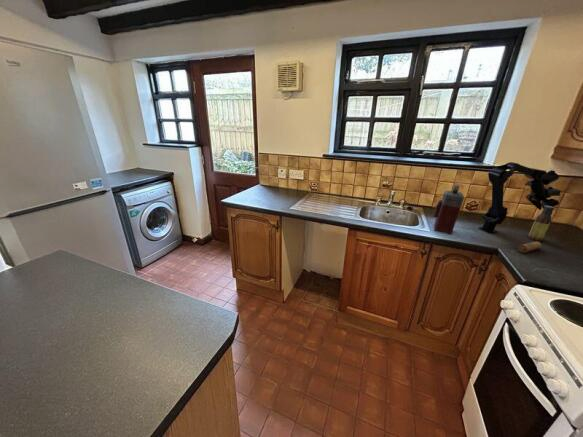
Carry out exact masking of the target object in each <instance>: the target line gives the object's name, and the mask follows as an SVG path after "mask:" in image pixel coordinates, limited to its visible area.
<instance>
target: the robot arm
mask: <svg viewBox="0 0 583 437" xmlns="http://www.w3.org/2000/svg"><path fill="white" fill-rule="evenodd" d="M515 172H516V173H520V174H522V175H524V177H526V178H527V179H531V180H527V182H526V183H525V184H524V185H525V186H528V187H530V188H529V189H530V191H529V193H528V194H526V195H525V198H526V200H527V201H528V202H529V203H531V204H532V205H533V206H534V207H535V208H536V209H538V211H542V210H543V209H544V206H545V205H546V206H552V207H554V208H555V207H557V206H558V205H560V201H559V200H557V199H555V198H552V197H561V193H562V190H561V189H559V188H555V187H553V186H550V184H552V183H554V182H556V181H558V180H559V179H560V176H559V174H558V173H556V170H553V169H550V170H549V171H547V170H543V169H539V168H535V167H528V166H525V165H522V164H520V163H518V162H513V161H511V162H510V161H509V162H507V163H505V164H501V165H498V166H496V167H494V168H492V169H490V170H489V171H488V173H487V176H488V177H487V178H488V181H489V182H490V184H491V206H489V208H488V211H486V212H485V213H484V214H482V216H481V218H482V219H483V220H484V222H483V225H482V226H481V227H479V228H478V229H479V230H482V231H484V232H486V233H489V234H492V233H497V230H496V227H497V225H501V224H503V222H505V219H506V218H507V215H508V210H509V209H508V207H505V206H504V186H505V183H506V182H507V181H508V180H509V178H511V177H512V176H513V175H514V173H515ZM548 185H549V186H548ZM552 215H553V213H552V214H551V216H552Z"/></svg>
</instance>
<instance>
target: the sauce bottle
mask: <svg viewBox="0 0 583 437" xmlns="http://www.w3.org/2000/svg"><path fill="white" fill-rule="evenodd" d="M554 210H555V206H554V207H552V206H546V205H545V206H544V209H543V208H542V210H541V213H540V214H538V215H536V217H535V220H534V222H533V224H532V226H531V228H530V231H529V233H528V236H527V237H528V239H530V240H533V241H536V242H540V241H543V239H544V238H545V237H546V233H547V232H548V229H549V227H550V225H551V223H552V215H553V212H554ZM551 214H552V215H551Z"/></svg>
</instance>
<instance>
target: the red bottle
mask: <svg viewBox="0 0 583 437" xmlns="http://www.w3.org/2000/svg"><path fill="white" fill-rule="evenodd" d="M459 190H460V185H459V184H454V185H453V187H452V190H444V192H443V195H442V198H441V199H438V201H437V203H436V204H435V208H434V211H433V218H435V221H434V224H433V230H434V232H437V233H443V234H447V235H452V234H453V231H454V229H455V225H456V223H457V220H458V217H459V214H460V212H461V211H460V210H461V208H462V205H463V202H464V199H465V197H464V194H463V193H462V192H460V191H459Z"/></svg>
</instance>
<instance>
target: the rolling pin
mask: <svg viewBox="0 0 583 437" xmlns="http://www.w3.org/2000/svg"><path fill="white" fill-rule="evenodd" d="M541 248H542V244H541V243H540V241H532V242H528V243H525V244H519V245H518V247H517V251H519V252H520V253H523V254H524V253H525V254H526V253H528V252H533V251H536V250H540V249H541Z"/></svg>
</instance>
